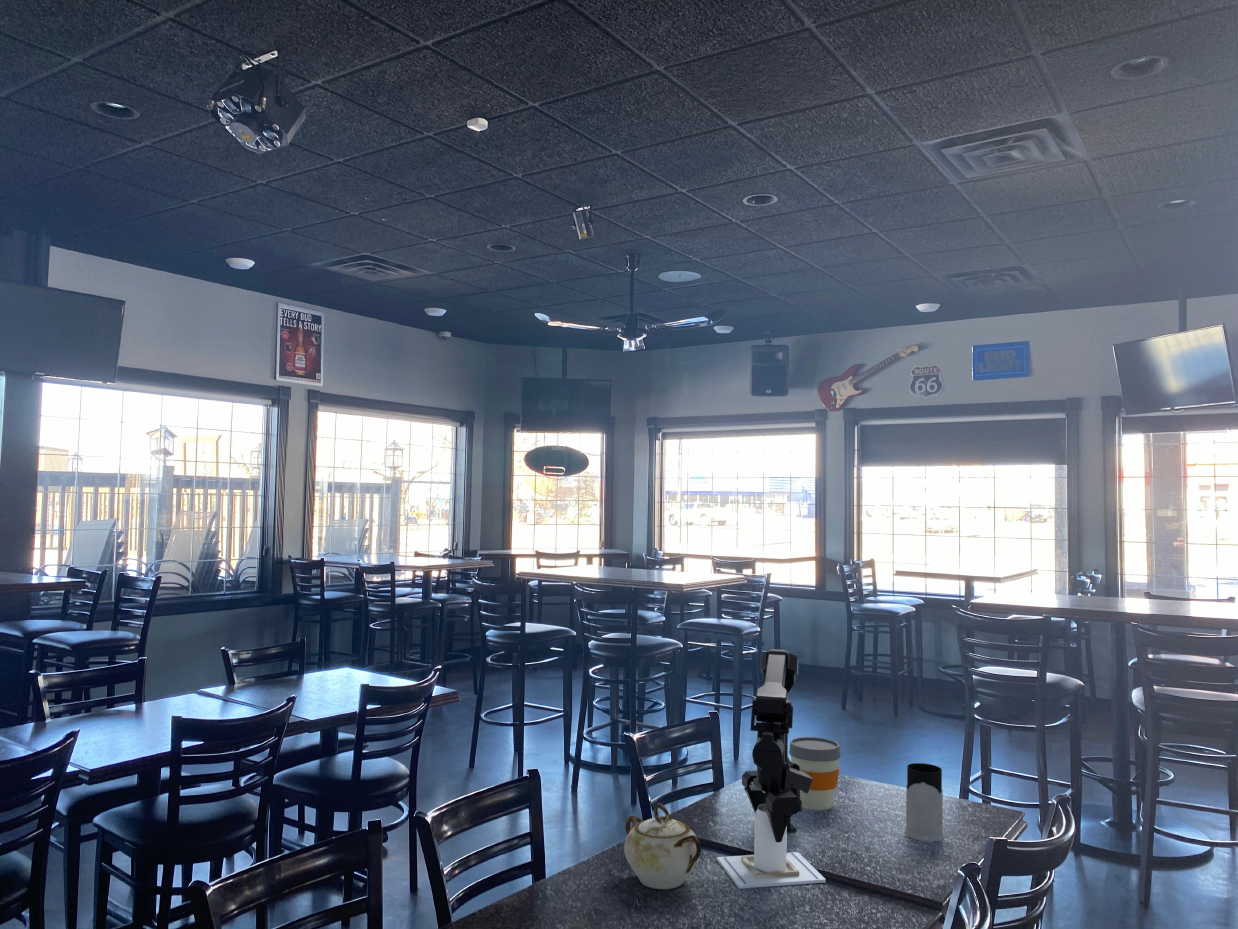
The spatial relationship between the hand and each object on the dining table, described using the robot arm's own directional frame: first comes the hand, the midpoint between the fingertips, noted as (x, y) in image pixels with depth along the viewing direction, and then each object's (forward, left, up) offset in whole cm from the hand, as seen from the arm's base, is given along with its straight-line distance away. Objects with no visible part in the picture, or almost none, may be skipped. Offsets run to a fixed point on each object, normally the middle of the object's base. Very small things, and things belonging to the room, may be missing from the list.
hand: (770, 833), depth 183 cm
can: (0, 0, -7) cm, 7 cm away
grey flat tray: (0, 0, -8) cm, 8 cm away
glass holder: (-16, +44, -8) cm, 47 cm away
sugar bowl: (+1, -23, -8) cm, 24 cm away
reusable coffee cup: (-37, +26, -8) cm, 46 cm away
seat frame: (0, 0, -8) cm, 8 cm away
